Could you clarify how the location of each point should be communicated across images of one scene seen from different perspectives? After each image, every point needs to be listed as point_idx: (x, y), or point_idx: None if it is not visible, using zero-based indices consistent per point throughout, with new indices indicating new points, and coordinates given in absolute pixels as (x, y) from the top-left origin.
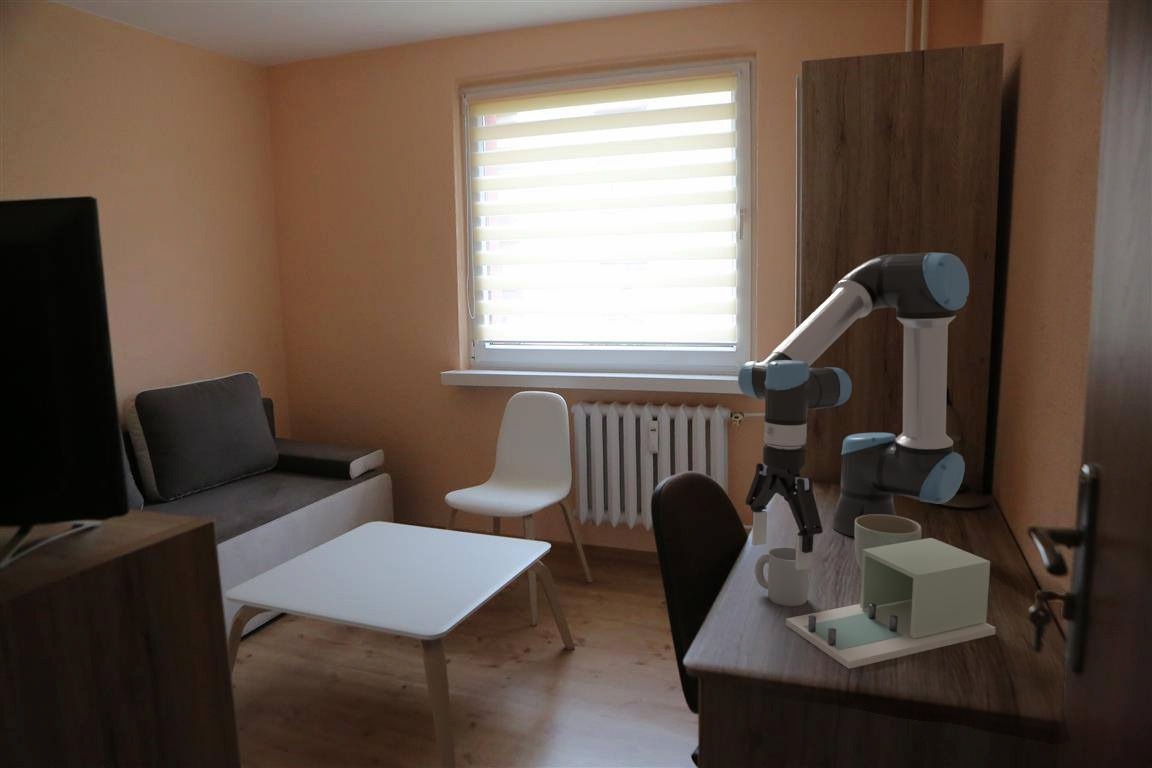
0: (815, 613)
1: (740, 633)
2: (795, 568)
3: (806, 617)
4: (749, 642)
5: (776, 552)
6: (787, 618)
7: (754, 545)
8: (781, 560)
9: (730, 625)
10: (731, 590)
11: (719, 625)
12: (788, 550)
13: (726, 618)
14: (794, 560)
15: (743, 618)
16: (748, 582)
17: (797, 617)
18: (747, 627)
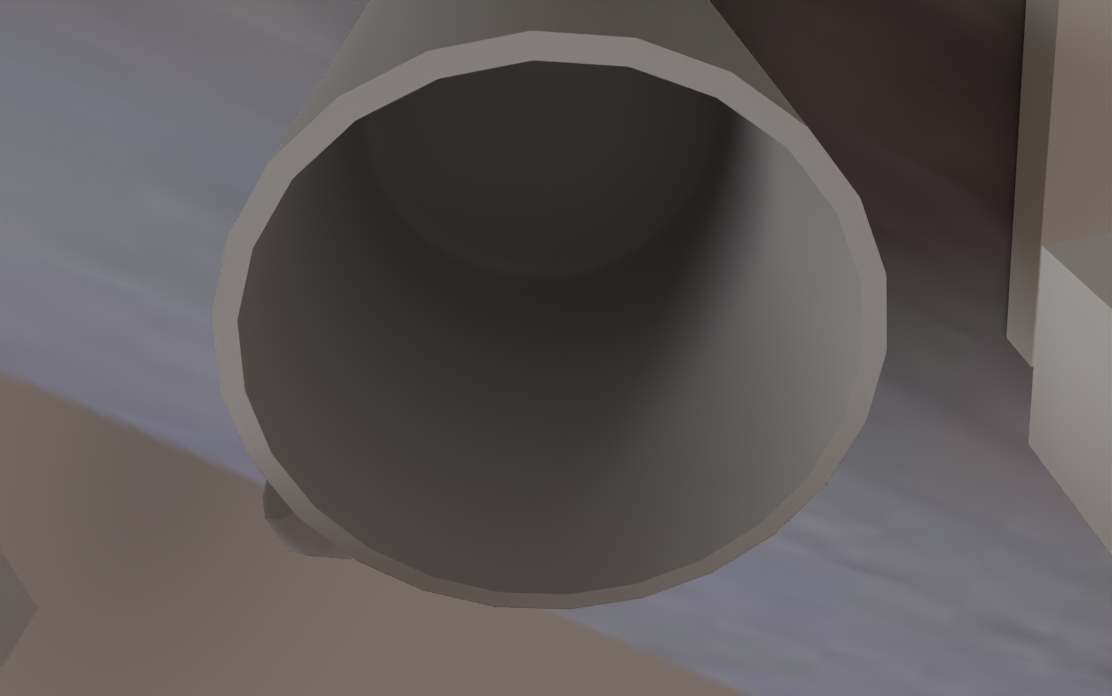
0: (1067, 76)
1: (974, 623)
2: (1031, 443)
3: (1094, 198)
4: (1101, 613)
5: (288, 407)
6: (1033, 354)
7: (33, 603)
8: (756, 538)
9: (853, 641)
10: None
11: (829, 689)
12: (265, 237)
13: (752, 636)
14: (855, 403)
15: (788, 552)
16: (113, 312)
17: None
18: (919, 568)
